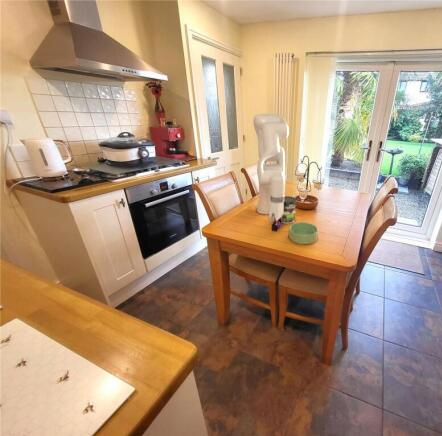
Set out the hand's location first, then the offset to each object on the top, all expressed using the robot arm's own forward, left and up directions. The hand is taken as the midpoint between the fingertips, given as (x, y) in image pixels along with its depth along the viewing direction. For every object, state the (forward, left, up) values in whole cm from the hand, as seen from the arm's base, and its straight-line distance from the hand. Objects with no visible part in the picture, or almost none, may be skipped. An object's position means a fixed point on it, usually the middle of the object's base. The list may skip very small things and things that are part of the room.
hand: (276, 228), depth 131 cm
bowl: (+15, 0, -3) cm, 16 cm away
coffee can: (-1, +17, -3) cm, 18 cm away
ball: (0, 0, +2) cm, 2 cm away
